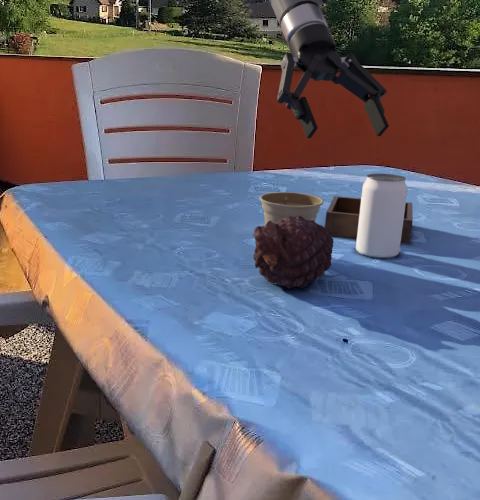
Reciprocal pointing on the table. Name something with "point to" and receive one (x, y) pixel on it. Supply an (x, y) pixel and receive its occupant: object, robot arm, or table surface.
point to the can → (381, 215)
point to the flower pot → (289, 205)
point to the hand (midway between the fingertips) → (348, 132)
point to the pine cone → (292, 251)
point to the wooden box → (357, 218)
